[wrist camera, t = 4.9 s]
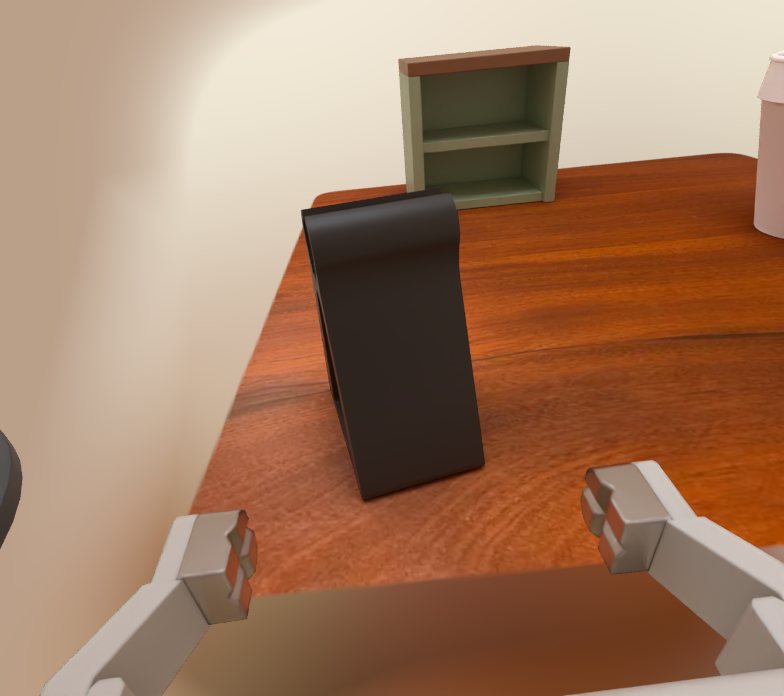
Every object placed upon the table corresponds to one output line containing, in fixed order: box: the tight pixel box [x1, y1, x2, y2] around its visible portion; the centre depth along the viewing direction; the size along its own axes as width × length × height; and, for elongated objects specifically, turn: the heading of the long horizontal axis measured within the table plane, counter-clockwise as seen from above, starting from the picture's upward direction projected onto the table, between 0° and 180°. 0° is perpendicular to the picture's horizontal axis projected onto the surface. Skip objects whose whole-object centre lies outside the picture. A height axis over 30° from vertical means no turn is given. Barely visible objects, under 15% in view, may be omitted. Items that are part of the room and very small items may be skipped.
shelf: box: [399, 46, 570, 210], centre depth 54 cm, size 16×10×15 cm, turn 94°
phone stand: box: [301, 187, 485, 500], centre depth 22 cm, size 9×6×12 cm, turn 16°
